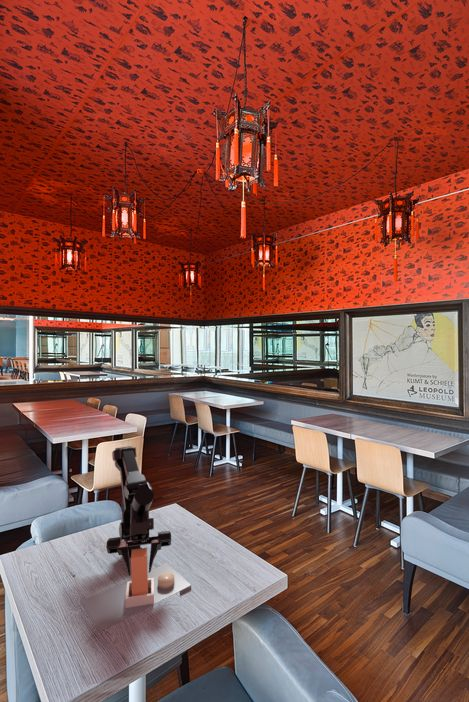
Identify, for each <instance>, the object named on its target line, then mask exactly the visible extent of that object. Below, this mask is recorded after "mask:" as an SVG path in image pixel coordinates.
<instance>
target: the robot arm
mask: <svg viewBox="0 0 469 702" xmlns="http://www.w3.org/2000/svg"><path fill="white" fill-rule="evenodd" d="M111 453H112V455H111V457H112V461H113V462H114V467H116V469H117V470H118V471H119V473H120V481H121V482H120V483H121V491H122V497H123V499H122V500H123V507H124V508H123V509H124V512H123V514H122V516H121V518H120V521H121V522H120V523H119V526H118V535H119V537H118V536H115V537H110V538H109V537H108V539H107V540H106V544H105V545H106V552H107V554H110V555H111V554H116V553H117V555H118V556H121V557H122V558H123V561H124V564H125V568H126V571H127V574H128V576H130V577H131V561H130V559H131V553H132V550H133V549H141V548H143V547H141V546H145V545H150V553H149V561H148V571H149V573H150V572H151V570H152V569H153V565H154V561H155V558H156V556H157V553H158V551H160V550H162V548H163V547H169V546H170V547H171V545H172V532H171V531H170V530H164V531H157V535H156V536H150V531H152V530H154V529H155V524H154V523H155V522H154V521H155V520H154V519H155V518H154V517H150V508H151V505H152V503H153V500H154V496H155V495H154V494H155V493H154V492H153V487H152V486H151V484H150V483H149V482H148V481H147V480H146V477H145V475H144V474H142V473H140V470H139V466H138V463H137V447H134V446H131V445H130V446H121V447H116V448H115V449H113V451H112V452H111Z"/></svg>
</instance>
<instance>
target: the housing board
mask: <svg viewBox="0 0 469 702" xmlns="http://www.w3.org/2000/svg"><path fill="white" fill-rule="evenodd" d="M191 589H192V585H191V583H189V582H188V581H187V580H186V579H185V578H184V577H183V576H182V575H181V574H180V573H178V571H176V570H175V568H173V567H171V565H169V564H168V562H166V563H163V564H161V565H159V566H157V567H154V568H152V569H151V572H150V573H149V570H148V594H145V595H139V596H133V597H132V579H131V578H130V579H128V580H126V581H123V582H121V583H118V584H117V585H115V586H112V587H110V588H108V589H105V590H103V591H100V592H98V593H95V594H94V595H91V596H90V597H87V598H85V599H82V600H81V601H80V603H81V604H82V607H83V608H84V610H85V611H86V614H88V616H89V618H90V619H91V622H92V623H93V625H94V626H95V628H96V630H97V632H98V633H100V632H102V631H105V630H106V629H108V628H110V627H113V626H114V625H117V624H118V623H121V622H122V621H124V620H126V619H128V618H130V617H132V616H134V615H136V614H138V613H140V612H142V611H144V610H146V609H148V608H149V607H152V606H154V605H156V604H157V603H159V602H161V601H164V600H165V599H167V598H169V597H171V596H173V595H175V594H177V593H178V592H179V595H180V594H183V593H185V592H187V591H189V590H191Z"/></svg>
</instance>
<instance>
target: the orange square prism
mask: <svg viewBox="0 0 469 702" xmlns="http://www.w3.org/2000/svg"><path fill="white" fill-rule="evenodd" d="M148 571H149V562H148V547H142V548H141V549H133V550H132V553H131V558H130V577H131V578H130V579H132V597H133V596H139V595H145V594H148Z"/></svg>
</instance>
